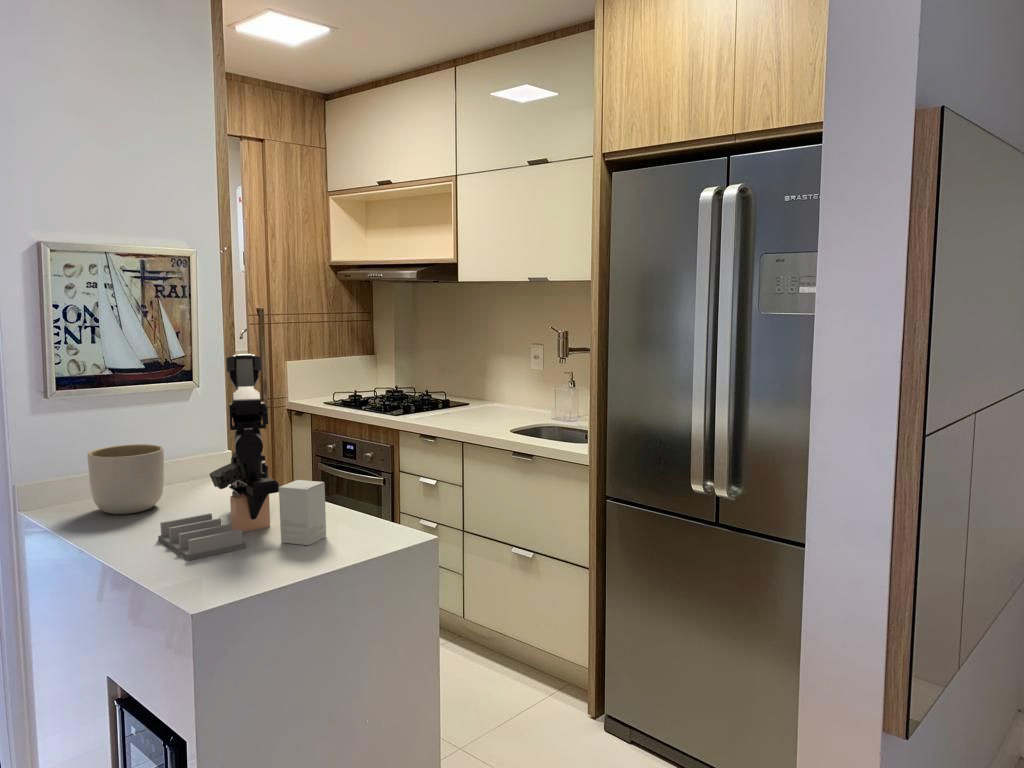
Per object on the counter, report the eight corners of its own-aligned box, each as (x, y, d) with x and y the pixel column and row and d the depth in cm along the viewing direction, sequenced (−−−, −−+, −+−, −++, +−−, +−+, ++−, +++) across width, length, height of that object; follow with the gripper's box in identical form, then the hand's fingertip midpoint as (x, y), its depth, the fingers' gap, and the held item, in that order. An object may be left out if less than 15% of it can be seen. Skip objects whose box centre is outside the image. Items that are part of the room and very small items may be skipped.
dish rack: (212, 529, 176) (211, 512, 175) (245, 547, 163) (244, 529, 162) (158, 540, 168) (157, 522, 167) (188, 560, 154) (187, 541, 154)
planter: (171, 512, 190) (168, 452, 188) (94, 523, 180) (91, 460, 179) (159, 497, 204) (157, 441, 202) (87, 506, 194) (84, 448, 193)
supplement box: (327, 536, 171) (326, 481, 169) (308, 546, 164) (306, 489, 162) (299, 533, 173) (297, 478, 172) (279, 542, 166) (277, 486, 165)
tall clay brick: (264, 523, 181) (263, 490, 180) (270, 526, 178) (269, 492, 178) (231, 530, 175) (230, 496, 174) (236, 533, 173) (235, 498, 172)
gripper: (197, 450, 176) (200, 515, 178) (230, 462, 163) (233, 533, 164) (244, 444, 184) (246, 507, 185) (279, 455, 170) (281, 523, 172)
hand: (250, 517), depth 177 cm, fingers closed on tall clay brick, 3 cm apart
